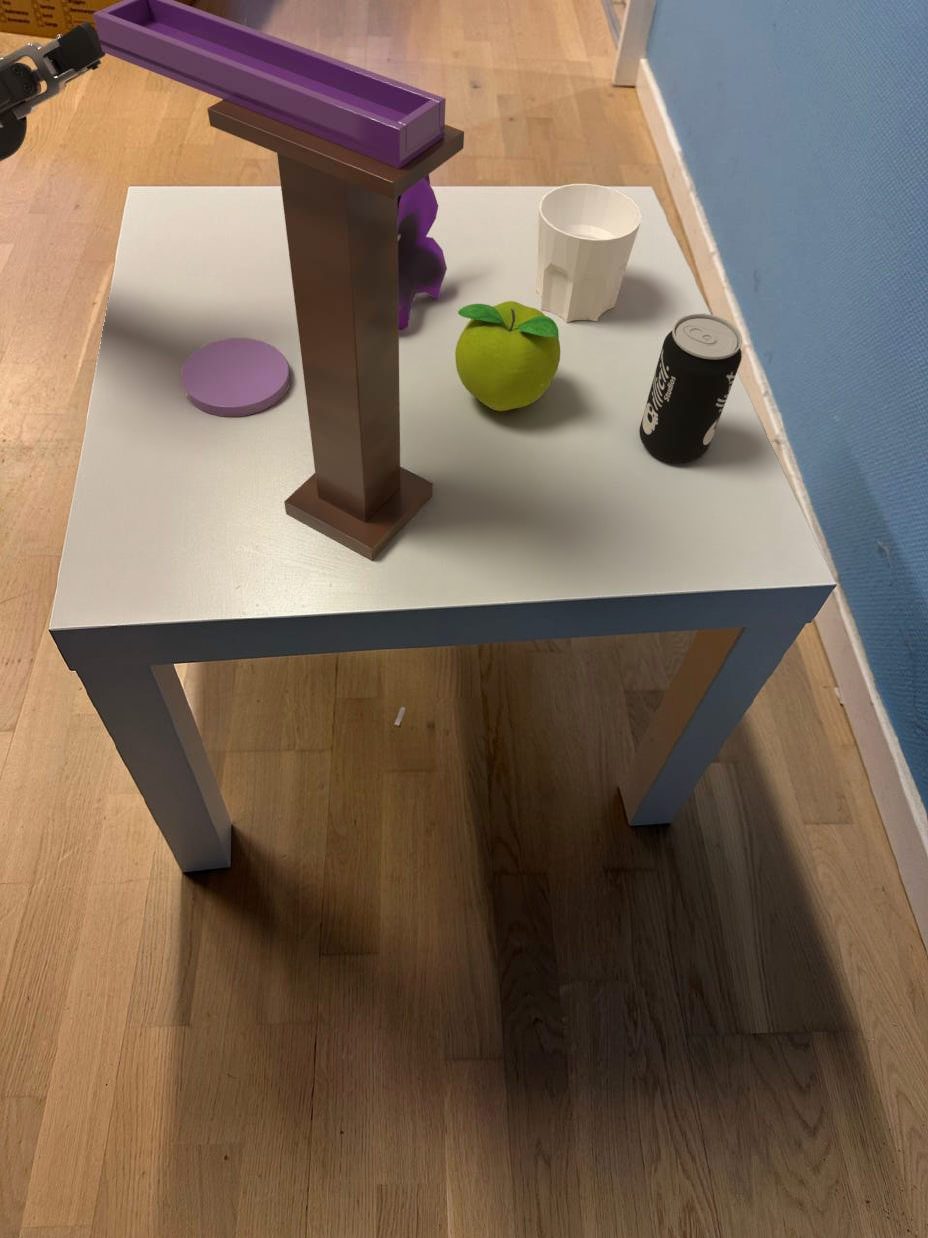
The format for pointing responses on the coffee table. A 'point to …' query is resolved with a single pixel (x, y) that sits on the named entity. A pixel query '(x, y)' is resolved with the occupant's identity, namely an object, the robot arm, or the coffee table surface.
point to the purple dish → (275, 78)
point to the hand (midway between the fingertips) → (47, 59)
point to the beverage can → (690, 387)
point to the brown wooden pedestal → (346, 323)
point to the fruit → (507, 354)
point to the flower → (417, 248)
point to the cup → (583, 249)
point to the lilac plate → (235, 377)
